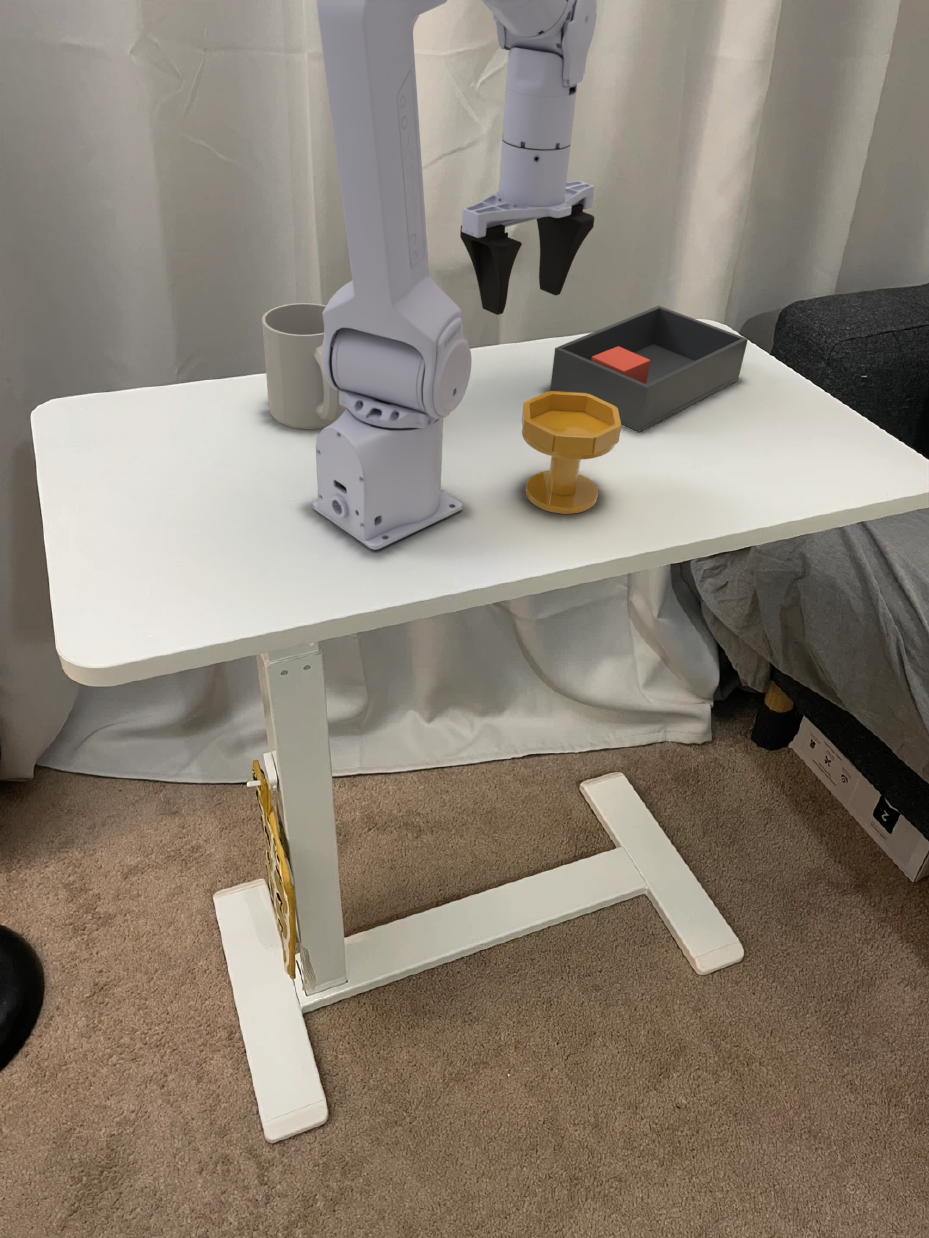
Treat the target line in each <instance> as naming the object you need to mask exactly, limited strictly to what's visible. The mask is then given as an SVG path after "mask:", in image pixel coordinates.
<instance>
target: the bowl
mask: <svg viewBox="0 0 929 1238" xmlns="http://www.w3.org/2000/svg"><path fill="white" fill-rule="evenodd" d="M621 430H622V424H621V421H620V416H619V411H618V408H617V407H616V406H614V405H612V404H610V403H608V402H606V401H604V400H601V399H599V398H597V397H595V396H593V395H591V394H587V393H577V392H560V391H550V390H549V391H546V392H544V393H542V394H539V395H536V396H534V397H532V398H529V399H526V400H524V401H523V403H522V414H521V436H522V438H523V441H524V442H525V443H526V444H527V445H528V446H530V448H532V449H533V450H535V451H537V452H539V453H541V454H544V455H546V456H549V457H550V464H549V470H545V471H540V472H538V473H535V474H533V475H532V476H530V478H528V480H527V482H526V484H525V496H526V498H527V500H528V501H529V502H530V503H531V504H532V505H534V506H535V507H537V508H539V509H541V510H543V511H547V512H549V513H554V514H561V515H562V514H563V515H570V514H573V515H574V514H579V513H583V512H585V511H588V510H589V509H592V508H593V507H594V506H595V504H596V503H597V501H598V495H599V491H598V487H597V485H596V484H595V483H594V482H593V481H592V480H591V479H589V478H588V477H586V476H584V475H582V474H581V473H580V467H581V461H583V460H590V459H595V458H599V457H603V456H605V455H606V454H608V453H610V452H611V451H612V450H613V449H614V448H615V446H616V445H617V444H618V443H619V442H620V437H621Z"/></svg>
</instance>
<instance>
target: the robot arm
mask: <svg viewBox="0 0 929 1238" xmlns="http://www.w3.org/2000/svg"><path fill="white" fill-rule="evenodd" d="M447 1H448V0H316V8H317V9H316V10H317V17H318V25H319V33H320V41H321V48H322V49H321V50H322V56H323V64H324V71H325V80H326V88H327V96H328V101H329V102H328V103H329V110H330V118H331V127H332V134H333V140H334V148H335V157H336V162H337V165H336V166H337V172H338V179H339V180H338V181H339V187H340V194H341V204H342V210H343V217H344V218H343V219H344V226H345V233H346V243H347V249H348V250H347V251H348V256H349V257H348V258H349V264H350V273H351V279H352V280H350V281H349V282H347V283H345V284H344V285H342V287H340V288H339V289H338V290H337V291H336V292H335V293H334V294H333V295H332V296H331V298H330V299H329V301H328V302H327V304H326V305H325V306H326V307H325V309H324V311H323V320H324V340H323V345H322V353H321V360H322V367H323V371H324V375H325V378H326V380H327V382H328V384H329V385H330V387H332V388H333V389H335V390H338V391H339V404H340V405H341V406H344V407H346V410H345V411H344V413H343V414H342V415H341V416H340V417H339V418H338V419H337V420H336V421H335V422H333V423H332V424H331V425H329V426H327V427H324V428H322V429H321V431H320V432H319V433H318V435H317V438H316V442H315V459H316V479H317V480H316V481H317V484H316V485H317V500H314V501H313V502H312V509H313V510H314V511H316V512H317V513H319V514H320V515H321V516H323V517H324V518H326V519H327V520H329V521H330V522H331V523H333V524H335V526H338V528H340V529H342V530H343V531H344V532H346V533H348V534H349V535H350V536H352V537H353V538H355V539H356V540H357V541H359V542H360V543H362V544H363V545H364V546H366V547H367V548H369V549H371V550H374V551H376V550H380V549H382V548H384V547H387V546H388V545H390V544H394V543H395V542H397V541H399V540H402V539H403V538H406V537H408V536H410V535H411V534H414V533H416V532H419V531H421V530H423V529H425V528H426V527H429V526H431V525H432V524H433V525H434V524H435V523H438V522H439V521H441V520H444V519H445V518H448V517H450V516H452V515H453V514H456V513H458V512H461V511H462V510H463V507H464V505H463V504H464V503H463V502H461V501H460V500H458V499H457V498H455V497H453V496H452V495H450V494H448V493H447V492H445V491H443V490H442V488H441V486H442V485H441V484H442V465H443V464H442V462H443V443H444V441H443V437H444V419H445V418H446V417H448V416H449V415H451V413H452V412H453V411H455V410H456V409H457V408H458V406H459V405H460V404H461V402H462V400H463V398H464V397H465V394H466V392H467V388H468V386H469V382H470V378H471V372H472V362H473V361H472V351H471V348H470V345H469V342H468V340H467V338H466V335H465V331H464V324H463V317H462V316H463V315H462V310H461V308H460V306H459V305H457V304H456V302H454V300H452V298H451V297H450V296H449V295H448V294H446V293H447V292H446V293H445V291H444V290H443V289H442V288H441V287H440V286H439V285H438V284H437V283H436V282H435V281H434V280H433V279H432V278H431V276H430V268H429V267H430V266H429V255H428V254H429V253H428V239H427V222H426V208H425V207H426V206H425V192H424V179H423V177H424V176H423V164H422V163H423V161H422V149H421V132H420V118H419V103H418V102H419V101H418V90H417V89H418V87H417V73H416V58H415V57H416V56H415V44H414V43H415V42H414V28H415V25H416V23H417V21H418V19H419V17H420V15H423V14H424V13H426V12H429V11H431V10H433V9H436V8H438V7H440V6H441V5H444V4H446V3H447ZM481 1H482V3H483V4H484V5H485V6H486V8H488V9H489V10H490V11H491V13H492V15H493V18H492V20H493V21H494V22H495V26H496V35H497V40H498V41H497V42H498V44H499V47H500V49H501V50H505V51H508V53H507V64H506V65H507V66H506V77H505V78H506V79H505V92H504V93H505V94H504V106H503V107H504V108H503V122H502V123H503V124H502V135H501V151H500V165H499V167H500V168H499V180H498V190H497V191H496V192H494V193H492V194H491V195H489V196H487V197H486V198H484V199H482V200H480V201H479V202H477V203H475V204H473V205H470V206H467V207H463V208H462V215H461V216H462V218H461V225H460V234H459V236H460V237H459V238H460V239H461V241H462V243H463V245H464V247H465V249H466V251H467V253H468V255H469V258H470V260H471V262H472V266H473V270H474V273H475V276H476V280H477V285H478V290H479V295H480V301H481V306H482V308H481V309H482V310H485V311H488V312H489V313H492V314H494V315H496V316H497V315H498V316H499V315H502V314H504V312H505V308H506V305H507V300H508V292H509V284H510V278H511V275H512V270H513V266H514V263H515V260H516V258H517V256H518V253H519V251H520V249H521V247H522V245H523V243H522V242H521V241H518V240H517V239H514V238H511V237H509V232H506V228H508V227H511V226H515V225H519V224H522V223H527V222H530V221H534V220H536V223H537V231H538V240H539V268H538V283H539V290H541V291H543V292H546V293H548V294H551V295H553V296H556V297H557V296H559V295H561V293H562V290H563V288H564V284H565V282H566V280H567V277H568V275H569V272H570V270H571V267H572V264H573V261H574V259H575V257H576V255H577V254H578V251H579V249H580V247H581V246H582V245H583V242H584V241H585V239H586V238H587V236H588V235H589V233H590V232H591V231H592V230H593V228H594V227H595V218H596V217H595V216H594V215H593V214H590V213H588V212H585V211H584V210H589V209H592V208H593V203H594V202H593V201H594V193H595V185H593V184H590V183H588V182H585V181H581V180H574V181H568V182H567V179H568V171H569V162H570V152H571V143H572V135H573V125H574V119H575V117H574V116H575V109H576V99H577V89H578V84H579V83H581V82H583V79H584V74H585V72H586V66H587V65H586V64H587V57H588V54H589V49H590V47H591V43H592V41H593V38H594V33H595V28H596V23H597V17H598V16H597V15H598V14H597V9H598V8H597V7H598V6H597V4H598V3H597V2H598V1H597V0H481Z"/></svg>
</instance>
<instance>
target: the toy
mask: <svg viewBox="0 0 929 1238" xmlns="http://www.w3.org/2000/svg"><path fill="white" fill-rule="evenodd" d="M591 361H593V362H595V363H597V364H600V365H602V366H604V367H607V368H609V369H611V370H614V371H616V372H618V373H621V374H623V375H625V376H628V377H630V378H632V379H635V380H637V381H639V382H642V383H644V384H646V382H647V377H648V371H649V366H650V360H649V359H647V358H644V357H642V356H640V355H638V354H635V353H633V352H631V351H628V350H626V349H624V348H621V347H619V346H618V347H615V348H613V349H610V350H607V351H605V352H602V353H600V354H597V355H595V356H592V359H591Z"/></svg>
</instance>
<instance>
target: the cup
mask: <svg viewBox="0 0 929 1238" xmlns="http://www.w3.org/2000/svg"><path fill="white" fill-rule="evenodd" d="M326 306H327V305H324V304H321V303H312V302H309V303H308V302H297V303H296V302H295V303H287V304H281V305H278V306H276V307H273V308H270V309H269V310H267V311H266V312H265V313H264V314H263V316H262V317H261V324H262V335H263V350H264V362H265V375H266V388H267V400H268V401H267V402H268V409H269V412H270V414H271V416H272V418H273V419H274V420H275V421H276V422H278V423H279V424H281V425H284V426H286V427H289V428H292V429H300V430H316V429H324V428H325V427H327V426H329V425H331V424H332V423H333V422H335V421H336V420H337V419H338V418H339V417H340V416H341V415H342V414H343V413H344V411H345V410H346V407H344V406H341V405H340V404H339V391H338V390H335V389H333V388H332V387H330V385H329V384H328V382H327V380H326V378H325V375H324V371H323V367H322V360H321V353H322V345H323V340H324V320H323V311H324V309H325V307H326Z"/></svg>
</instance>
